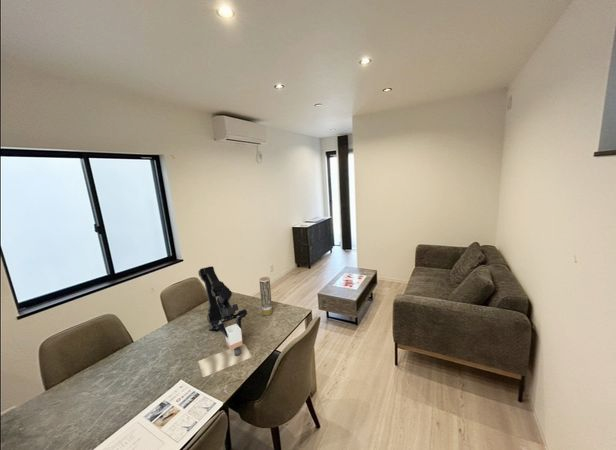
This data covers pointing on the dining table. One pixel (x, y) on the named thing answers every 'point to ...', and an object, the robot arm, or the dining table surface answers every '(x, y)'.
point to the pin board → (223, 360)
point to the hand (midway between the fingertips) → (234, 334)
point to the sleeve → (233, 336)
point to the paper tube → (265, 295)
